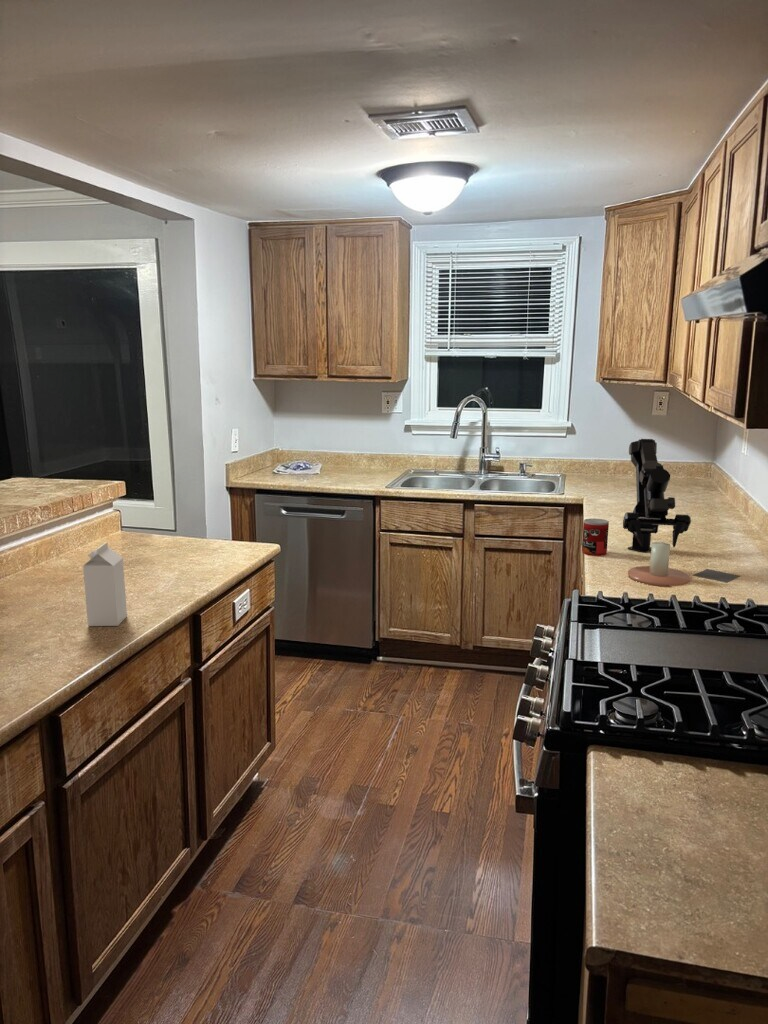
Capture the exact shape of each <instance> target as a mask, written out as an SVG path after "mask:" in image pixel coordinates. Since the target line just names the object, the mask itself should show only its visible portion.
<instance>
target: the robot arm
mask: <svg viewBox="0 0 768 1024" xmlns="http://www.w3.org/2000/svg"><path fill="white" fill-rule="evenodd" d="M657 453H658V452H657V442H656V439H652V438H640V439H638V440H636V441H631V442H630V444H629V446H628V455H629V456H630V462H631V463H632V464H633V466H634V467H635V475H636V476H635V478H636V479H635V480H636V481H635V483H636V484H635V485H636V487H635V489H636V505H635V506H634V508H633V511H632V512H629V511H628V512H625V513H624V516H623V519H622V528H623V529H624V530H627V531H628V532H629V533H632V543H631V546H628V547H627V550H631V551H636V552H641V553H648V552H651V551H650V550H651V548H652V546H651V543H652V542H651V540H652V534H657V533H658V532H659V526H672V548H676V544H677V541H678V538H679V536H680V534H684V532H685V533H686V532H687V531H688V530H689V528H690V526H691V523H692V519H691V516H690V514H681V513H680V514H679V513H676V514H675V517H674V518H667V516H668V515H669V510H673V509H675V508H676V497H667V498H665V493H666V490H667V488H668V485H669V482H670V481H671V474H670V473H669V471H668V470H666V469H665V468H664V465H663V464H661V463H660V462H658V456H657Z"/></svg>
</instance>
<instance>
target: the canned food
mask: <svg viewBox="0 0 768 1024" xmlns="http://www.w3.org/2000/svg"><path fill="white" fill-rule="evenodd" d="M609 525H610V524H609V520H607V519H602V518H585V519H583V525H582V526H583V527H582V542H581V543H582V545H581V551H582V553H583V555H586V556H591V557H602V556H601V555H603V556H605V555H607V552H608V539H609Z"/></svg>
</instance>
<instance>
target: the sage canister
mask: <svg viewBox="0 0 768 1024" xmlns="http://www.w3.org/2000/svg"><path fill="white" fill-rule="evenodd" d="M651 547H652V548H651V551H650V561H649V562H650V563H649V566H650V574H651V575H654V576H660V577H663V576H667V575H668V568H669V564H670V552H671V544H670V543H668V542H661V541H656V542H651Z"/></svg>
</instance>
